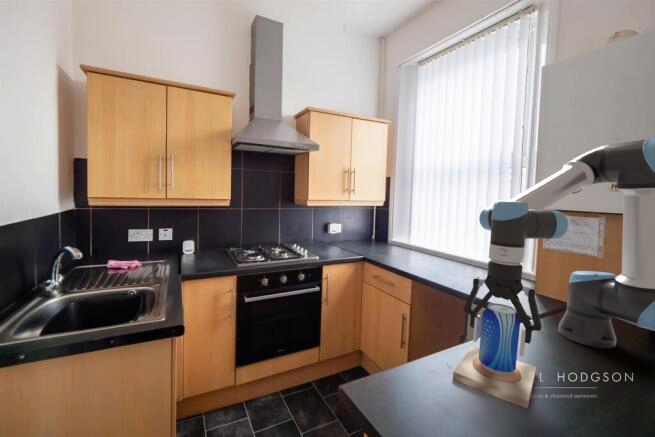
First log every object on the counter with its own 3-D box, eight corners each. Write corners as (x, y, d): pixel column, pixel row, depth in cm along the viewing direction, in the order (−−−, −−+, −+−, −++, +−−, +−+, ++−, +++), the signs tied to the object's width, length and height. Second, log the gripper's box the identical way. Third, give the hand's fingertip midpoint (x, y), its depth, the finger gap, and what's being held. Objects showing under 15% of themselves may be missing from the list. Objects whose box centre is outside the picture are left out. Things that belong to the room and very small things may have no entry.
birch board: (535, 373, 81) (536, 365, 81) (527, 409, 67) (528, 398, 67) (471, 352, 91) (472, 344, 91) (452, 379, 77) (453, 370, 77)
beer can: (520, 379, 74) (527, 316, 72) (483, 374, 76) (489, 312, 74) (507, 361, 82) (513, 303, 81) (474, 356, 84) (479, 300, 82)
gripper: (454, 256, 81) (448, 337, 83) (560, 273, 67) (550, 370, 68) (462, 253, 87) (456, 328, 88) (561, 267, 72) (552, 357, 74)
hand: (497, 346), depth 78 cm, fingers open, 10 cm apart
